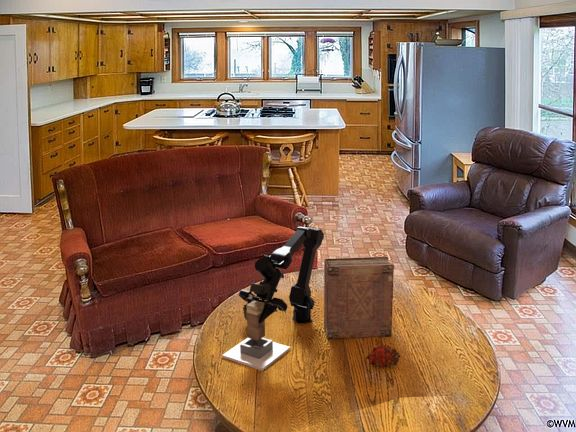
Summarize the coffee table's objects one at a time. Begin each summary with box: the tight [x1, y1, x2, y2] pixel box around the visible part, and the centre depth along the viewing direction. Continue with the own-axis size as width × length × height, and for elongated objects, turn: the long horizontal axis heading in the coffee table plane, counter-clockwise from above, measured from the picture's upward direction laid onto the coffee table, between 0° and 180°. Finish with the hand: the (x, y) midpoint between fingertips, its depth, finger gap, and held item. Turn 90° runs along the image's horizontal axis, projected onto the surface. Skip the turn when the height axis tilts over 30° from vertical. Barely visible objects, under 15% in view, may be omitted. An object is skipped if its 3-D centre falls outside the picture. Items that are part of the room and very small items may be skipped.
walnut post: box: [246, 301, 266, 341], centre depth 214 cm, size 5×5×13 cm
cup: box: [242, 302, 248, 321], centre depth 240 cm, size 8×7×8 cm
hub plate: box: [222, 337, 291, 372], centre depth 217 cm, size 18×18×4 cm
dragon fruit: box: [365, 344, 401, 370], centre depth 207 cm, size 8×8×12 cm
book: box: [323, 256, 395, 340], centre depth 229 cm, size 25×9×30 cm, turn 95°
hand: (253, 321), depth 213 cm, fingers closed on walnut post, 5 cm apart
